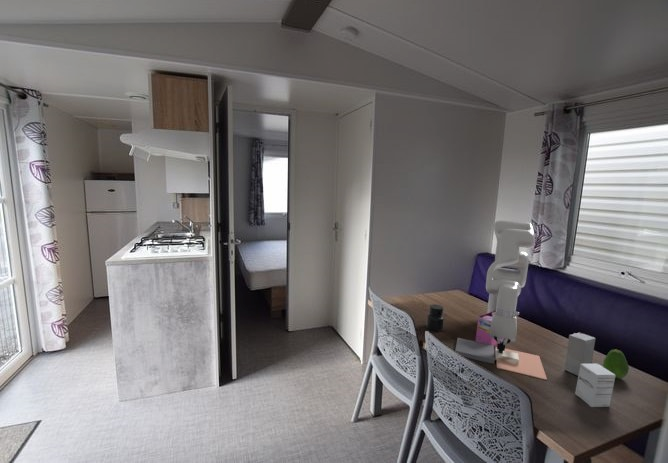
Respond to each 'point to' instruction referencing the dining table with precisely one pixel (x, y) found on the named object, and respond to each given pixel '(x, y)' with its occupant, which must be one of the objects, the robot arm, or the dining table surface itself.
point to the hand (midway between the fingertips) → (500, 351)
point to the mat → (524, 365)
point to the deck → (475, 350)
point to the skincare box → (579, 352)
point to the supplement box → (595, 385)
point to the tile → (507, 357)
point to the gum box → (485, 329)
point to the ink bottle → (435, 318)
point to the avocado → (616, 363)
